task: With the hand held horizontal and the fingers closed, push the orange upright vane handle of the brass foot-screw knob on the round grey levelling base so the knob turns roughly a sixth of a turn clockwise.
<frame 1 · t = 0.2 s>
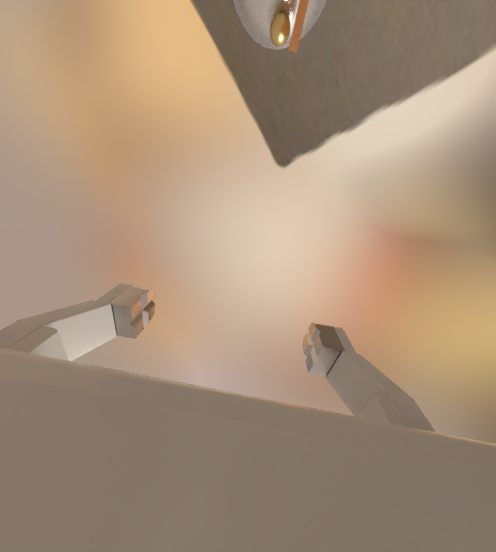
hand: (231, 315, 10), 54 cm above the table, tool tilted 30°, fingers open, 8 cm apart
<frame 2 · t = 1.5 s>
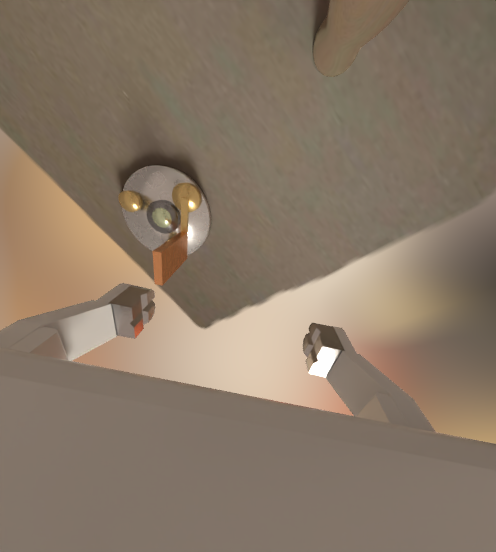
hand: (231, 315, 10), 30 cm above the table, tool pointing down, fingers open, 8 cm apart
vane knob: (175, 230, 31), point 8 cm above the table, hinge at 0.0°
levelling base: (169, 214, 38), on the table
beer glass: (335, 47, 25), on the table
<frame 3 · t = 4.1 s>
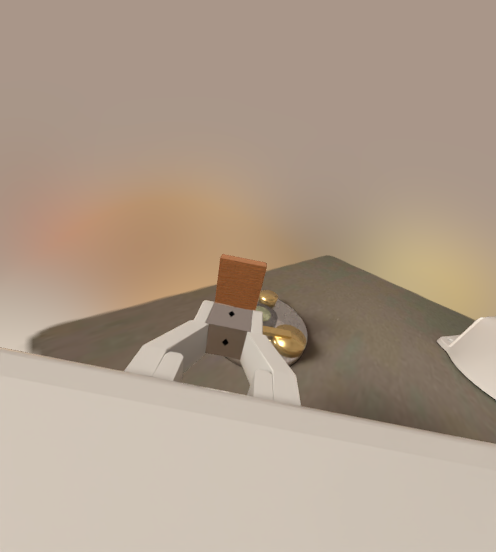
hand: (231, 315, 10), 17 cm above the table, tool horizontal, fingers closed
vane knob: (266, 307, 25), point 8 cm above the table, hinge at 0.0°
levelling base: (256, 326, 33), on the table
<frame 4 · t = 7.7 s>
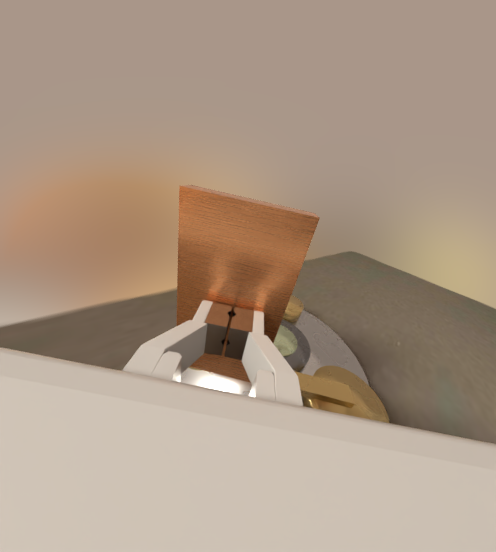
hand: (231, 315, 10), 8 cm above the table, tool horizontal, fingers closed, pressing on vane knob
vane knob: (302, 332, 10), point 8 cm above the table, hinge at 3.2°, touching gripper
levelling base: (268, 360, 18), on the table
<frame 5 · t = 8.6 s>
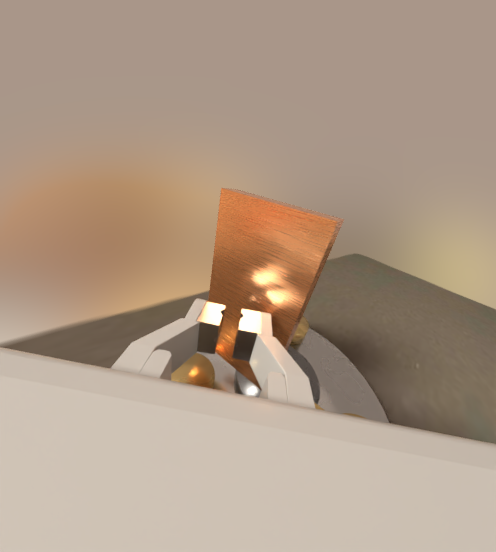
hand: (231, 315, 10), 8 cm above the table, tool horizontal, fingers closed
vane knob: (318, 353, 9), point 8 cm above the table, hinge at 30.8°, touching gripper
levelling base: (268, 395, 15), on the table
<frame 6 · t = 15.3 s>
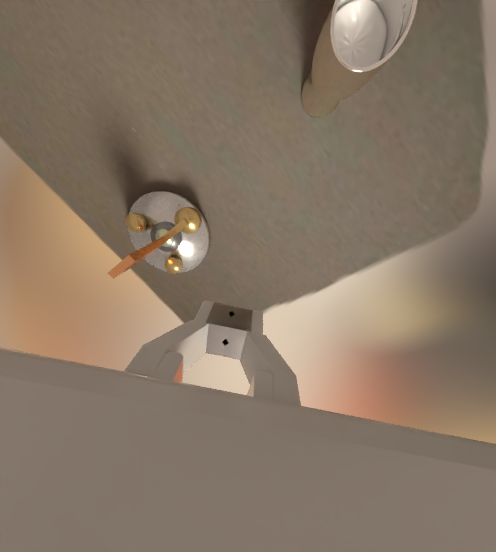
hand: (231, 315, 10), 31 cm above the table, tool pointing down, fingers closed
vane knob: (159, 241, 33), point 8 cm above the table, hinge at 43.6°
levelling base: (171, 234, 40), on the table
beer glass: (321, 93, 29), on the table
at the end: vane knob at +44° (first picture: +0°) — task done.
